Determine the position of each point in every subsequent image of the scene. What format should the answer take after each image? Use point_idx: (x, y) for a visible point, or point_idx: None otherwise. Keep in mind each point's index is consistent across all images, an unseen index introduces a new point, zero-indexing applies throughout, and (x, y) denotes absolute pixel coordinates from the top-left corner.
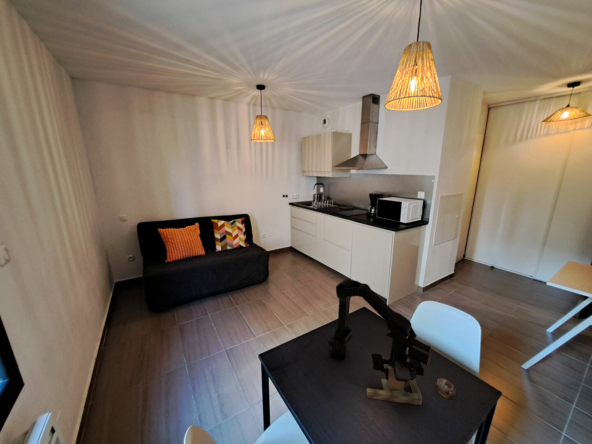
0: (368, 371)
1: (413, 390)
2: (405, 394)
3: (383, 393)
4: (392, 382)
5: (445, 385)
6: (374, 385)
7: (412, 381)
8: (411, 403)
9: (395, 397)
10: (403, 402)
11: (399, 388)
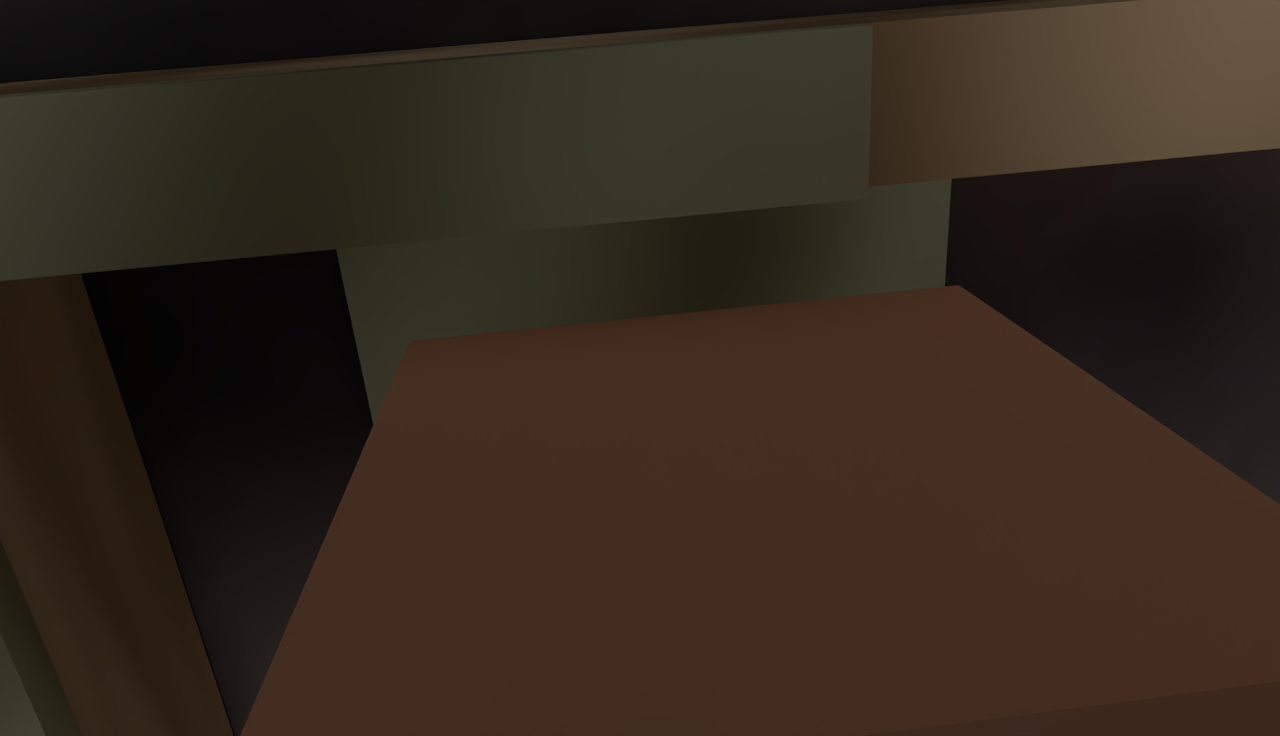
0: None
1: (69, 463)
2: (344, 131)
3: (1226, 9)
4: (979, 430)
5: None
6: (1147, 385)
7: (28, 730)
8: (191, 69)
9: (731, 28)
10: (440, 48)
11: (561, 339)
